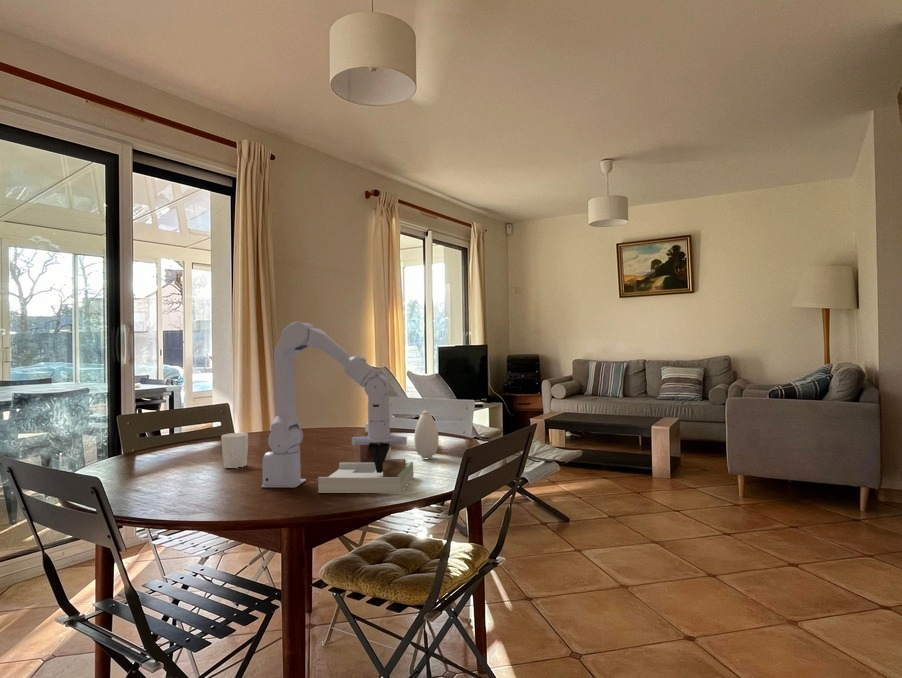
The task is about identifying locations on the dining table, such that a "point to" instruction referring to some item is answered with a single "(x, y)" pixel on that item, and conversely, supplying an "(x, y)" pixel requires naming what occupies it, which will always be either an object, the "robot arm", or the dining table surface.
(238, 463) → the white cup
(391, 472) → the block
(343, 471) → the tray
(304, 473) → the dining table surface
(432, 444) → the sauce bottle
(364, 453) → the mug
